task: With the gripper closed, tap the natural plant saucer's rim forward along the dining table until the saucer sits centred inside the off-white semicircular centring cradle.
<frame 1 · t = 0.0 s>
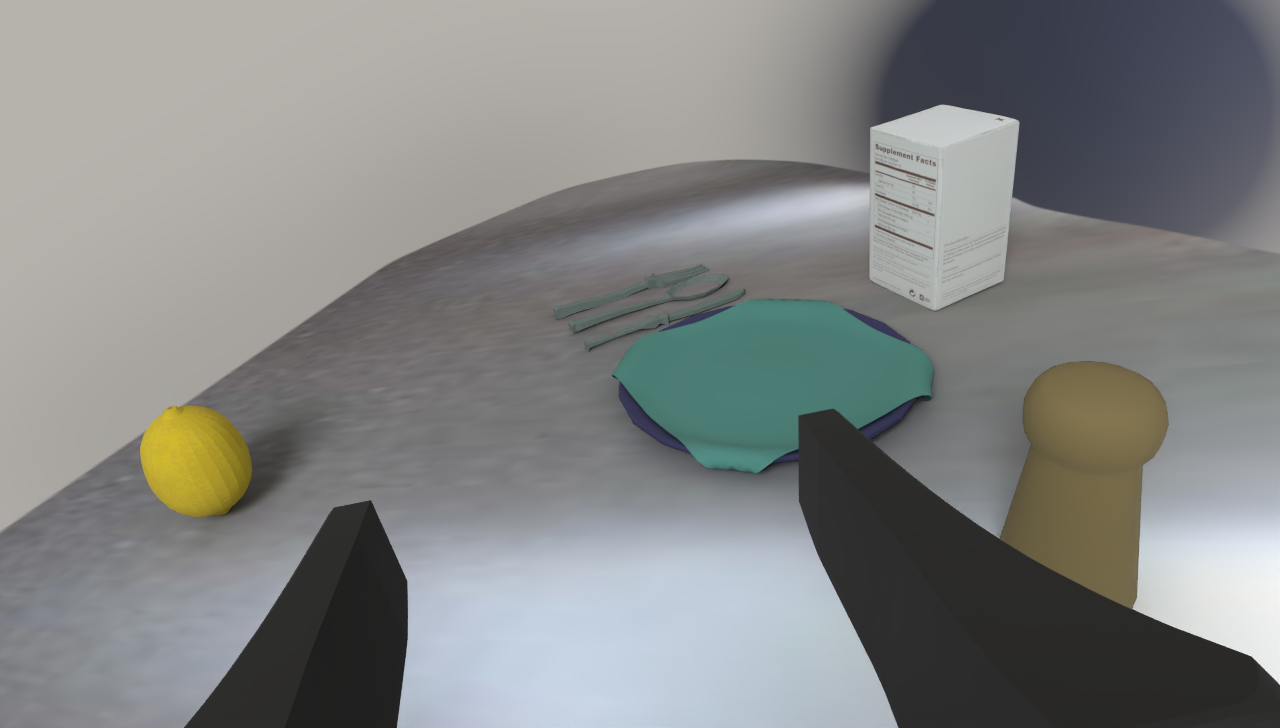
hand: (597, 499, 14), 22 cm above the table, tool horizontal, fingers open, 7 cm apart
supplement box: (933, 284, 64), on the table
cork: (1061, 580, 38), on the table
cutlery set: (728, 363, 59), on the table
lemon: (225, 515, 51), on the table
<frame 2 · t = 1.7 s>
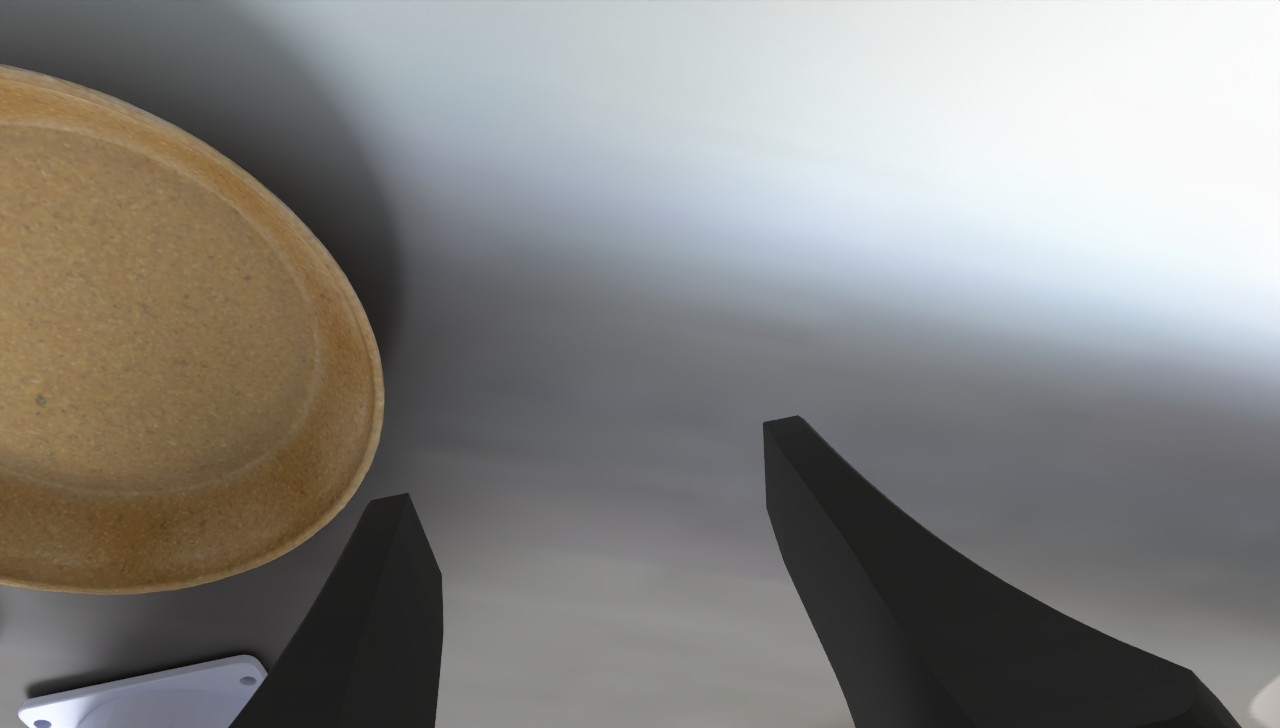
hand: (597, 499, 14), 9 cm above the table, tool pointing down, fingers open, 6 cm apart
plant saucer: (97, 322, 21), on the table
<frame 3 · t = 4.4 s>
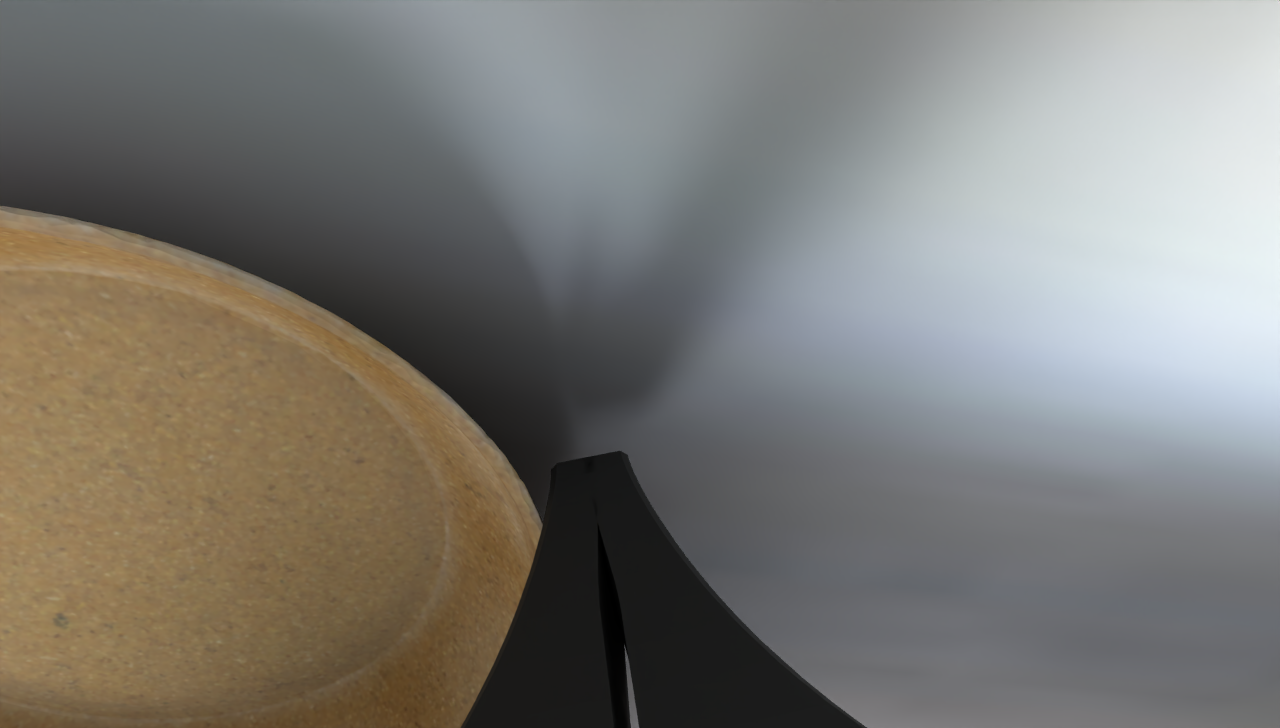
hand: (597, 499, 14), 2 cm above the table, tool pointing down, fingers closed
plant saucer: (141, 515, 15), on the table, touching gripper
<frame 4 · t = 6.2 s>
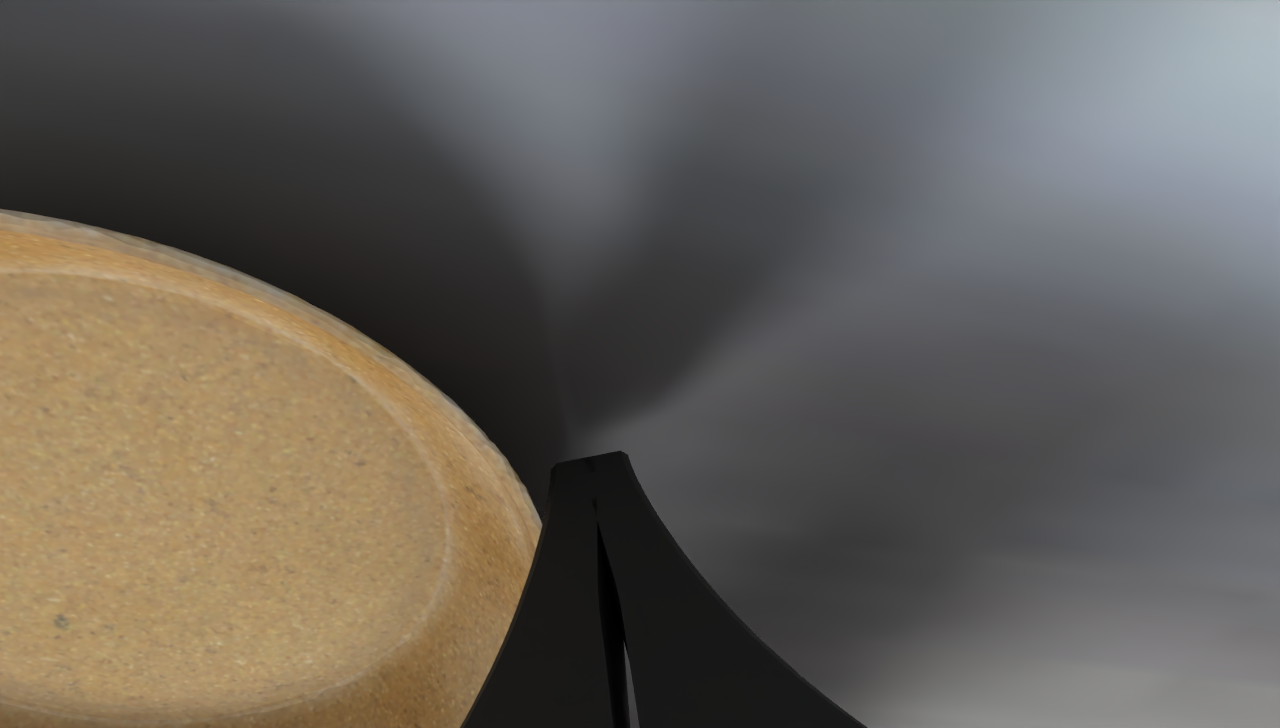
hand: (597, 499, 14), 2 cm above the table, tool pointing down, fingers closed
plant saucer: (142, 517, 15), on the table, touching gripper
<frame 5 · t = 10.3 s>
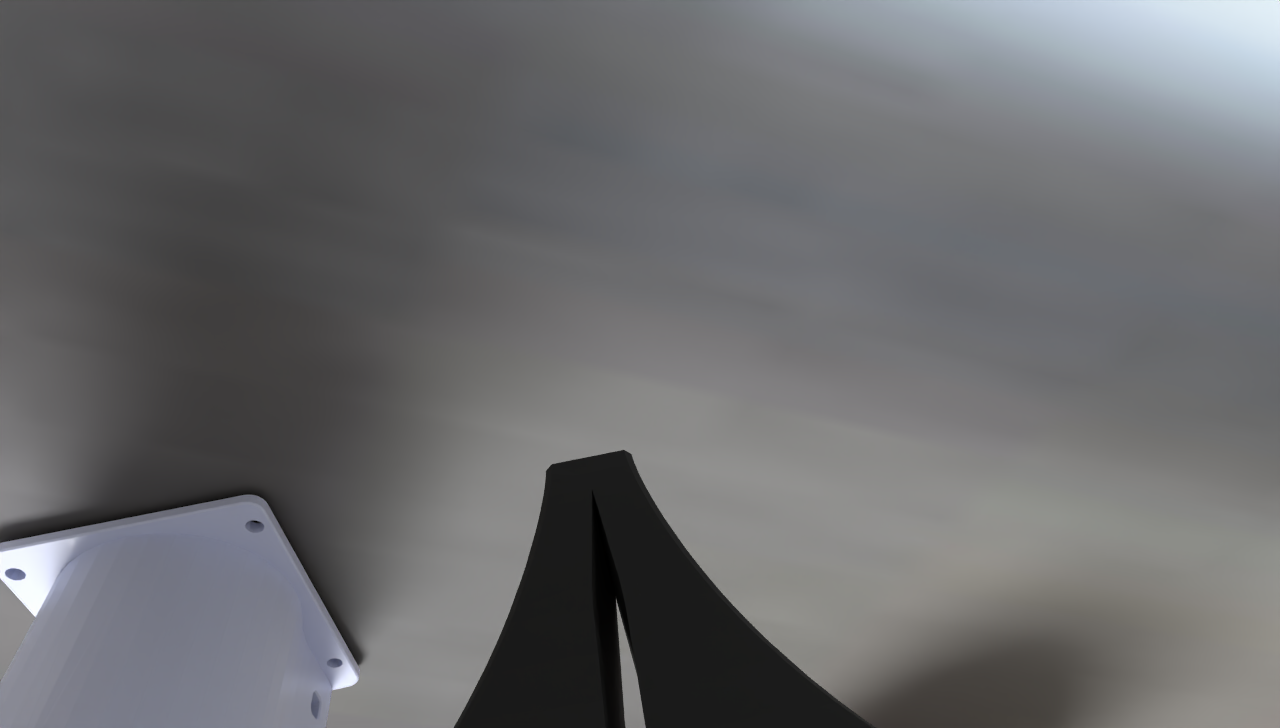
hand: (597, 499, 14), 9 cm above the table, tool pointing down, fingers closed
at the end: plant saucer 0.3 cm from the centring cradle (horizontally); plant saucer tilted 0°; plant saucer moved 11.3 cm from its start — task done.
